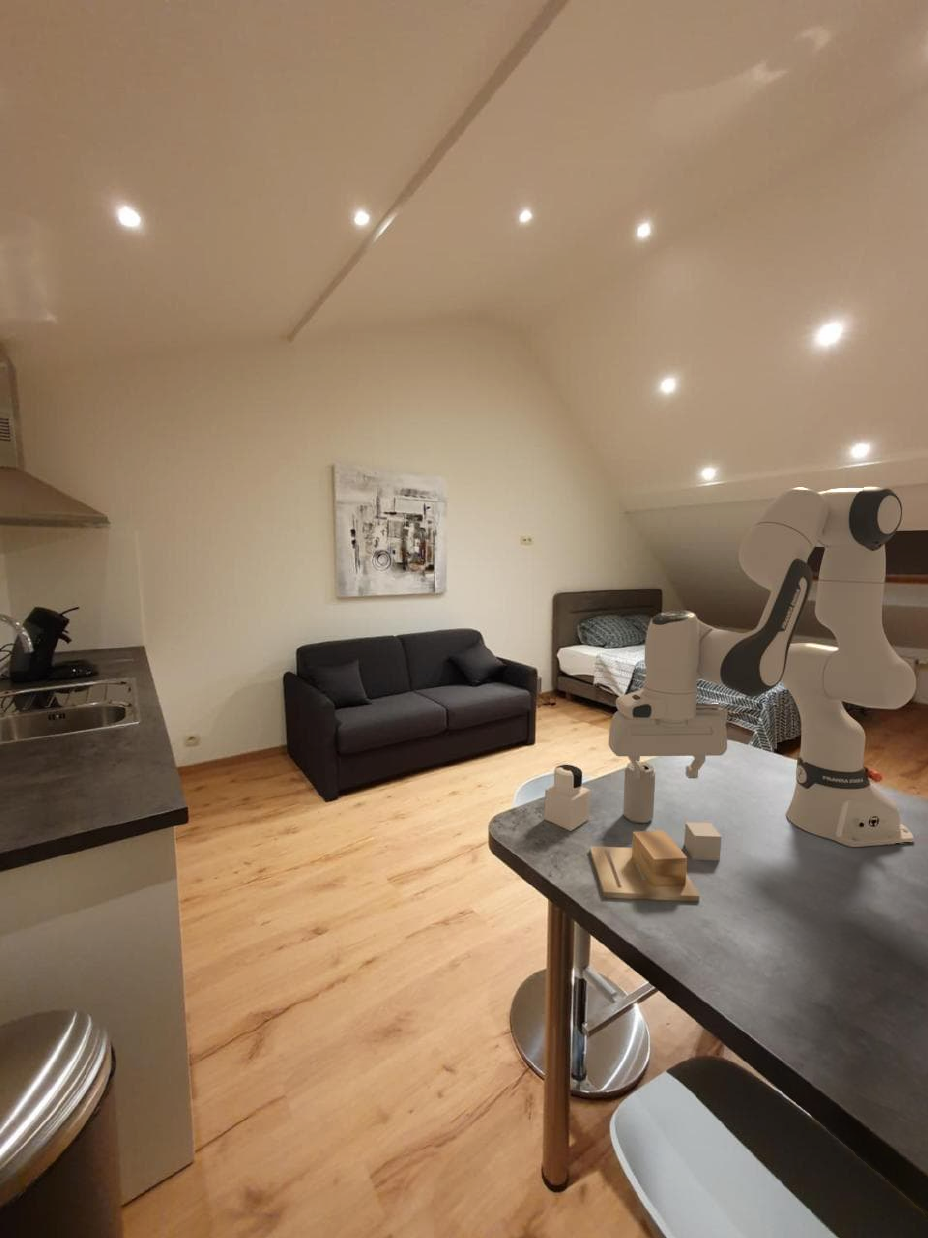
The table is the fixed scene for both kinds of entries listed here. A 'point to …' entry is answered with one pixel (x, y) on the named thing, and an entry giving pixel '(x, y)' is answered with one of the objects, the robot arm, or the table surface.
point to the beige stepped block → (567, 798)
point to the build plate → (633, 878)
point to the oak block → (659, 858)
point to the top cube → (702, 841)
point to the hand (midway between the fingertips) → (665, 777)
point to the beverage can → (639, 794)
